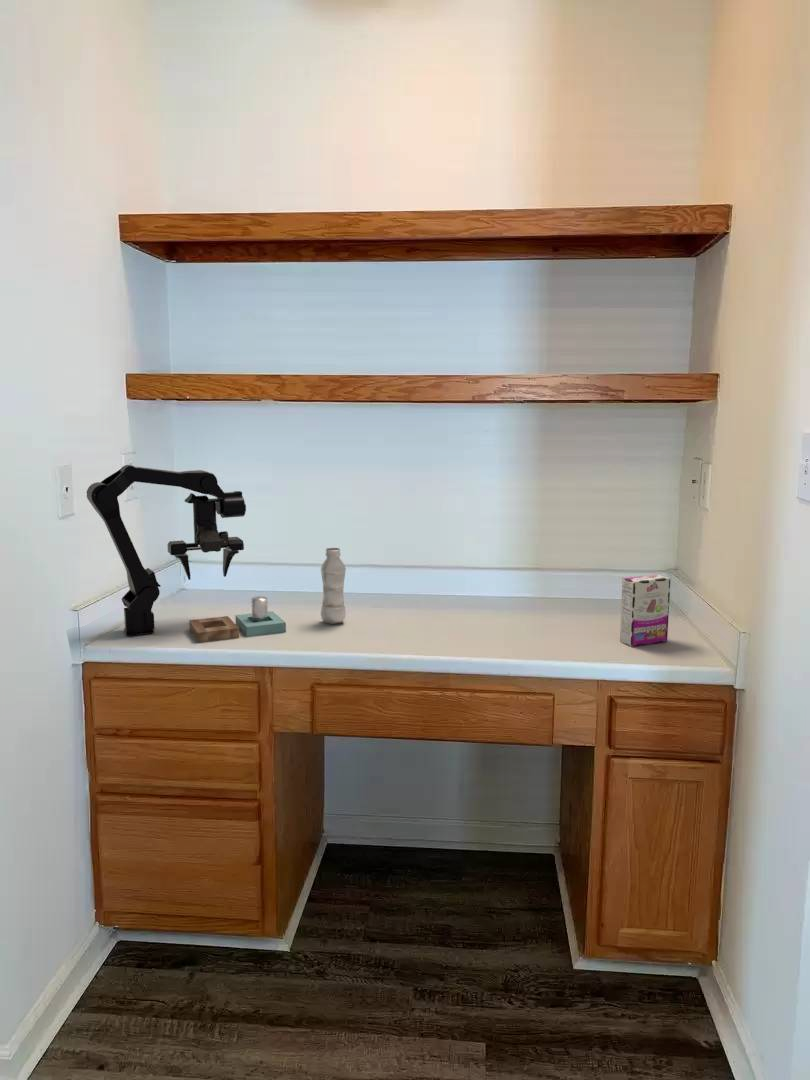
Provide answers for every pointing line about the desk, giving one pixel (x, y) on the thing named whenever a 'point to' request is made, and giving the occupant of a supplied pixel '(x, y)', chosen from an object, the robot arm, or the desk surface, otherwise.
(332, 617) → the plastic bottle
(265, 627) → the block
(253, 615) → the steel peg
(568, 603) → the desk surface
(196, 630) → the socket block
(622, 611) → the candy bar box
